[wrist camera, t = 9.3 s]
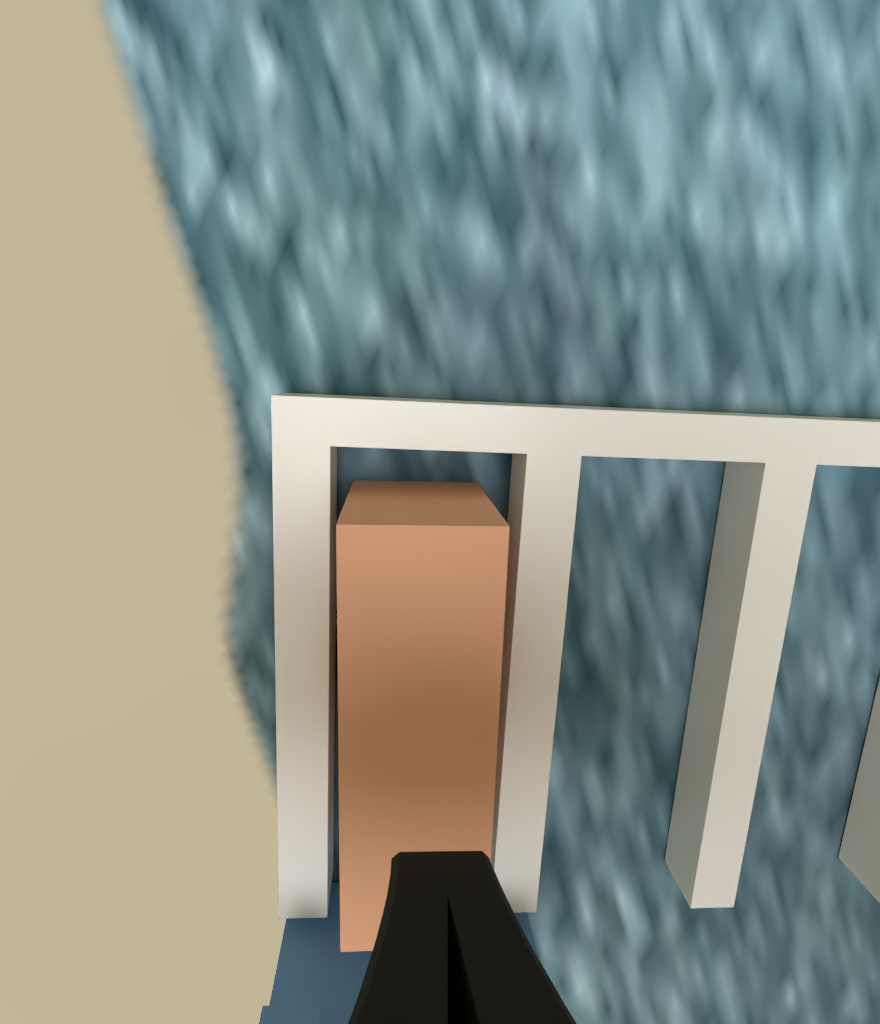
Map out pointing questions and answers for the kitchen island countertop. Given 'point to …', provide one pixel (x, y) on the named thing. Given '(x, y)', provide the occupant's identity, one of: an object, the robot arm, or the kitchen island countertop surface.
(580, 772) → the kitchen island countertop surface
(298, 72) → the kitchen island countertop surface
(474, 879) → the robot arm
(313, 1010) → the blue bracket
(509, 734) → the comb organizer
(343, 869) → the tall peach block
